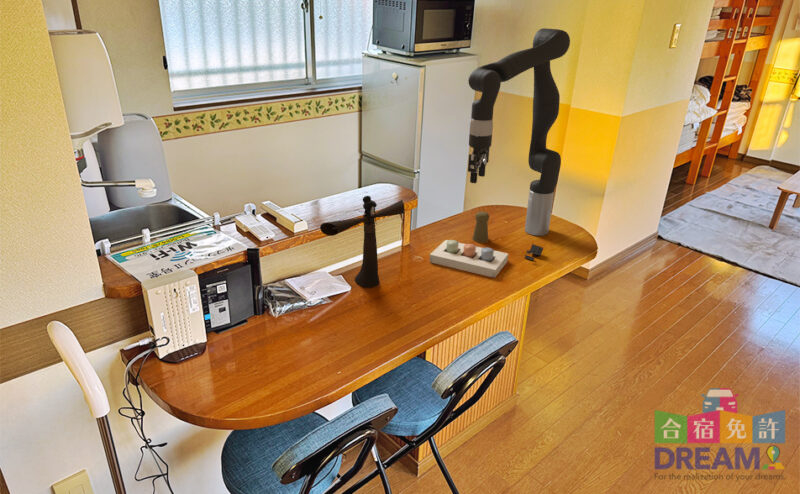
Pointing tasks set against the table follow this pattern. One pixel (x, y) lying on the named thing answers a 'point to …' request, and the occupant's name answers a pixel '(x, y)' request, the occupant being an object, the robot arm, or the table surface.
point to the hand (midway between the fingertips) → (477, 179)
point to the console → (469, 260)
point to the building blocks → (534, 251)
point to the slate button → (487, 254)
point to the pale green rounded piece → (452, 246)
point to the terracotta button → (469, 250)
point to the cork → (481, 227)
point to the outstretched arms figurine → (365, 237)
